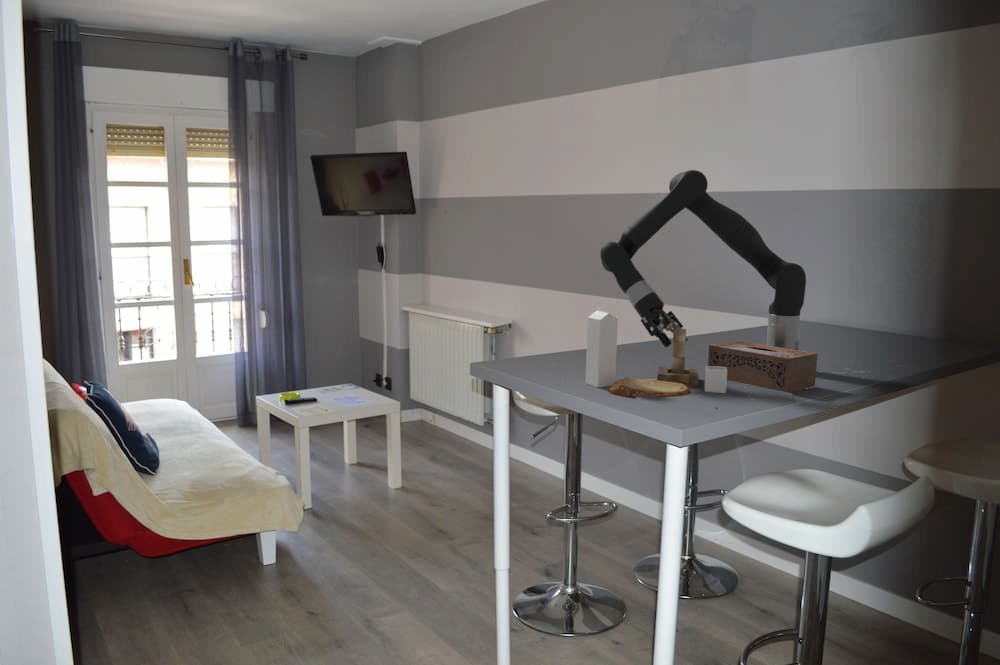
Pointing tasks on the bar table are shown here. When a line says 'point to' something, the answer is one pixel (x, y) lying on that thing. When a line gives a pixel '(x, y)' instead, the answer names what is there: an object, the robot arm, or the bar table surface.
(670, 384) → the bread slice
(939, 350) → the bar table surface
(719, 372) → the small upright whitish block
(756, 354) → the tissue box cover
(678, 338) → the dowel
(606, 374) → the milk
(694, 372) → the socket block
